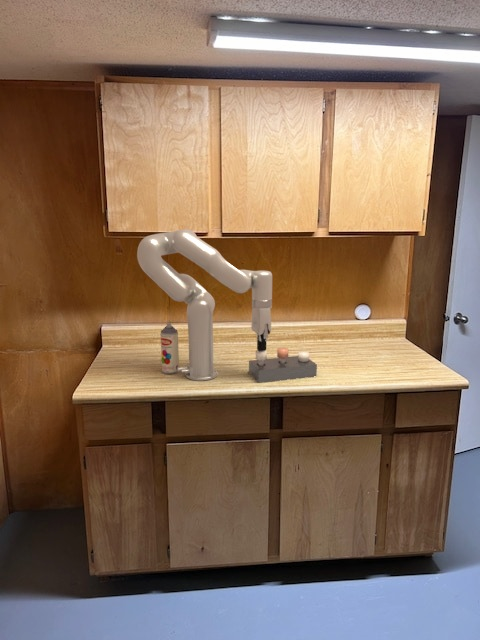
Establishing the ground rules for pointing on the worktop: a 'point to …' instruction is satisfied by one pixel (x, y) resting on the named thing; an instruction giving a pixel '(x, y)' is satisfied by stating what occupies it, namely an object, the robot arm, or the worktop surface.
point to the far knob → (303, 356)
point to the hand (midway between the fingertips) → (261, 350)
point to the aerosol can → (169, 350)
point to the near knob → (261, 357)
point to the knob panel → (282, 369)
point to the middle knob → (282, 354)
